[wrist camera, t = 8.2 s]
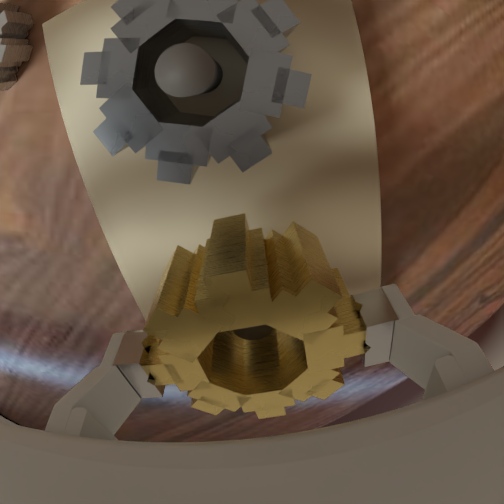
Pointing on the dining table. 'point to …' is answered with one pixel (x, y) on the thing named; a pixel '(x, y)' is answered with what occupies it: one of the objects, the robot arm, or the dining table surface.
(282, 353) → the brass gear
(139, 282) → the gear board
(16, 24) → the zinc gear
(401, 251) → the dining table surface
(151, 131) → the steel gear
